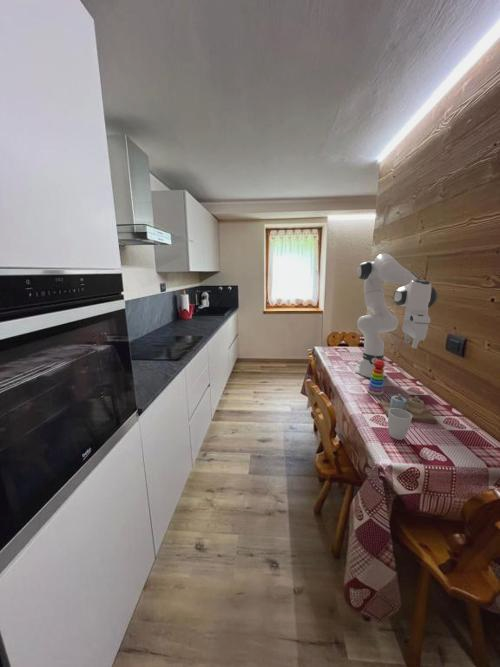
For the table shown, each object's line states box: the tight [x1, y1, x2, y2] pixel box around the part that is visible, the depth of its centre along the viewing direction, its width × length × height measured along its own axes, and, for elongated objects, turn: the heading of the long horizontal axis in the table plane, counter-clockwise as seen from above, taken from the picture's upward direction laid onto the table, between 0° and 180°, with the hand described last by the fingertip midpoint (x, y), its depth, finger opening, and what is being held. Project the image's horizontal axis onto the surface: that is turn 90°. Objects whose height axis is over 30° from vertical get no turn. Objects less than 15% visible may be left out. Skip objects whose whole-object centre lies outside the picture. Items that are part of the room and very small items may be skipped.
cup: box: [387, 408, 413, 441], centre depth 105 cm, size 8×8×10 cm
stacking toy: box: [366, 360, 386, 396], centre depth 143 cm, size 8×8×19 cm
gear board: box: [379, 393, 438, 425], centre depth 124 cm, size 14×20×8 cm
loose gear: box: [390, 395, 408, 410], centre depth 125 cm, size 6×6×5 cm
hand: (410, 345), depth 123 cm, fingers open, 8 cm apart
